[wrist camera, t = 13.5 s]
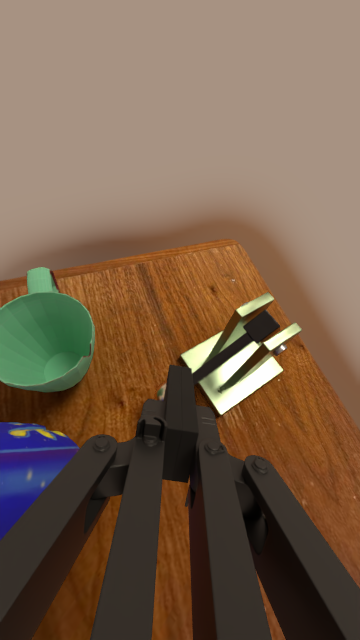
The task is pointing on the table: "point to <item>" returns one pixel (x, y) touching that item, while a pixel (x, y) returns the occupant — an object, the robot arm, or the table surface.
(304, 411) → the table surface
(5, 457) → the ornament
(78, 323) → the mug
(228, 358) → the lever
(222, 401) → the bracket
